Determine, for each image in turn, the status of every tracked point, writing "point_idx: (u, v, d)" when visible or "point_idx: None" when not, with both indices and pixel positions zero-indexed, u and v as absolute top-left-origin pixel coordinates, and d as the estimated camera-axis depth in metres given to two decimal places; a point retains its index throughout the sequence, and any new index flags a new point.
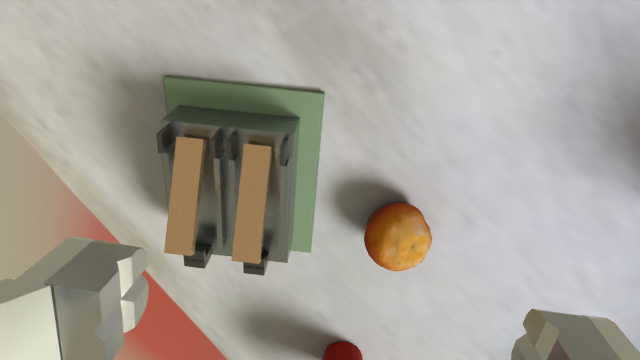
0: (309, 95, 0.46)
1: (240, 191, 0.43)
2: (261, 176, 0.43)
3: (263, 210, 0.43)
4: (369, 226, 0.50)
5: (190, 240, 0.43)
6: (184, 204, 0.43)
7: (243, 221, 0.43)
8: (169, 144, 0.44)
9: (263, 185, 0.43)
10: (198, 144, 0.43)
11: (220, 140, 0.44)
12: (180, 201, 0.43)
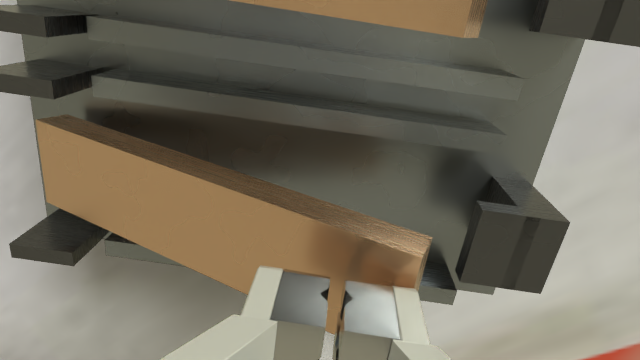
0: None
1: None
2: None
3: None
4: None
5: (349, 242, 0.09)
6: (215, 230, 0.11)
7: None
8: (93, 226, 0.15)
9: None
10: (50, 139, 0.13)
11: (49, 65, 0.13)
12: (204, 237, 0.11)
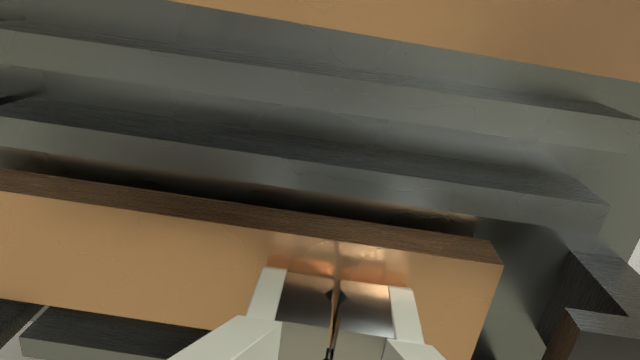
0: None
1: None
2: None
3: None
4: None
5: (424, 263, 0.09)
6: (248, 280, 0.09)
7: None
8: (7, 313, 0.11)
9: None
10: None
11: None
12: (231, 291, 0.09)
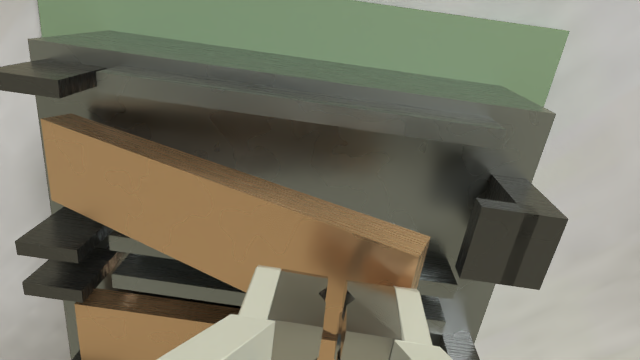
0: None
1: (158, 246, 0.12)
2: (113, 168, 0.12)
3: (205, 182, 0.10)
4: None
5: None
6: None
7: (244, 266, 0.11)
8: None
9: (135, 166, 0.12)
10: (91, 316, 0.16)
11: None
12: None
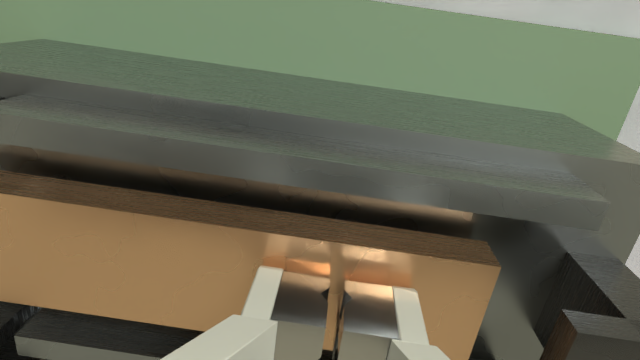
0: None
1: (153, 318, 0.09)
2: (70, 233, 0.09)
3: (231, 231, 0.08)
4: None
5: None
6: None
7: None
8: None
9: (111, 226, 0.09)
10: None
11: None
12: None
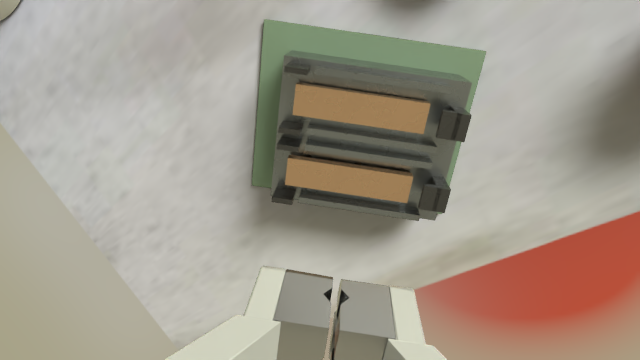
0: (266, 37, 0.42)
1: (345, 120, 0.38)
2: (330, 97, 0.37)
3: (368, 95, 0.37)
4: None
5: (396, 176, 0.40)
6: (357, 180, 0.40)
7: (379, 119, 0.38)
8: (292, 193, 0.42)
9: (340, 95, 0.37)
10: (293, 163, 0.40)
11: (288, 139, 0.40)
12: (353, 183, 0.40)
